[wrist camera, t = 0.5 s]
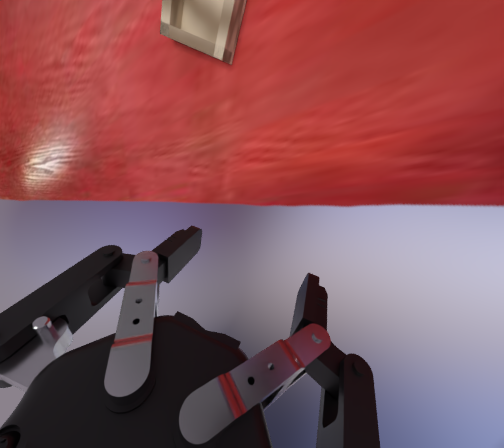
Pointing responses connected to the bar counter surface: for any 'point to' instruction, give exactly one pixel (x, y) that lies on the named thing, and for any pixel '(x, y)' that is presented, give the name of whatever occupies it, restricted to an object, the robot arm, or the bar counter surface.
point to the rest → (204, 25)
